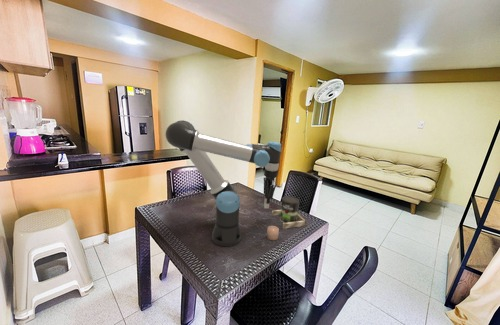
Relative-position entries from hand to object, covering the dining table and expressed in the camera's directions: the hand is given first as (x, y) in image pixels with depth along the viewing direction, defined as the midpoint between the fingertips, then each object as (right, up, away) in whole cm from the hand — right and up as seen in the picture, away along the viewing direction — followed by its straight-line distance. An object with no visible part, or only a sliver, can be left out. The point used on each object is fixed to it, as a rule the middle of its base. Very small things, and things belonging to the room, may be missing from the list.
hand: (266, 207), depth 123 cm
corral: (+14, -9, +7) cm, 19 cm away
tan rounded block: (+2, -13, -11) cm, 17 cm away
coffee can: (+14, -10, +7) cm, 19 cm away
